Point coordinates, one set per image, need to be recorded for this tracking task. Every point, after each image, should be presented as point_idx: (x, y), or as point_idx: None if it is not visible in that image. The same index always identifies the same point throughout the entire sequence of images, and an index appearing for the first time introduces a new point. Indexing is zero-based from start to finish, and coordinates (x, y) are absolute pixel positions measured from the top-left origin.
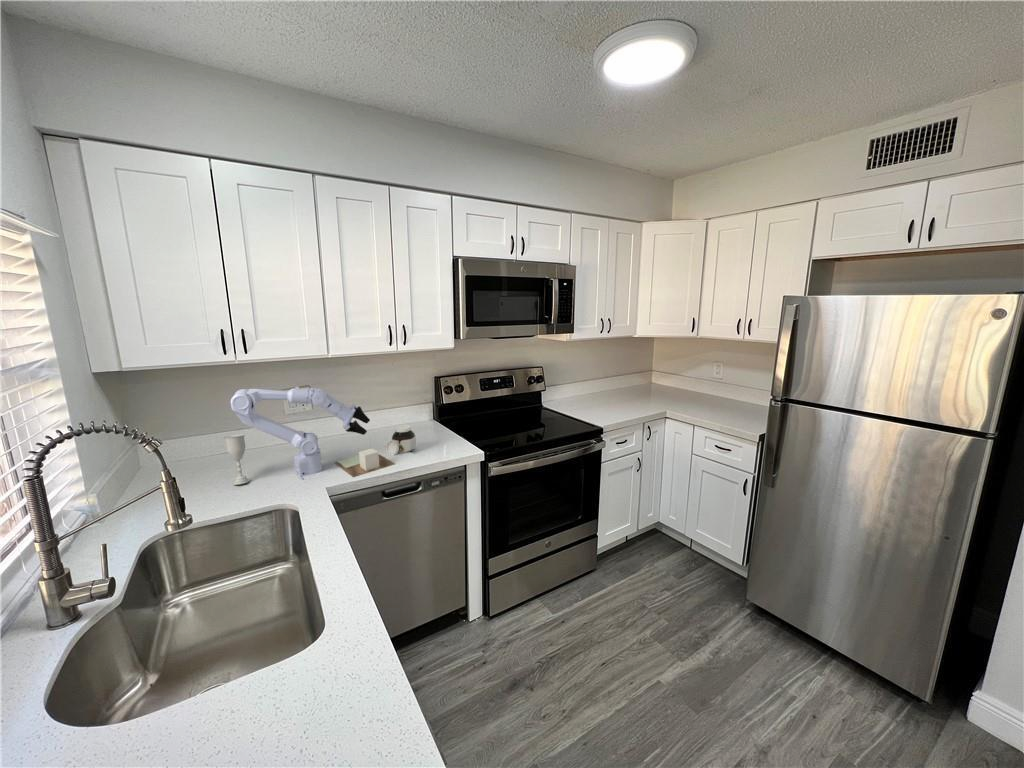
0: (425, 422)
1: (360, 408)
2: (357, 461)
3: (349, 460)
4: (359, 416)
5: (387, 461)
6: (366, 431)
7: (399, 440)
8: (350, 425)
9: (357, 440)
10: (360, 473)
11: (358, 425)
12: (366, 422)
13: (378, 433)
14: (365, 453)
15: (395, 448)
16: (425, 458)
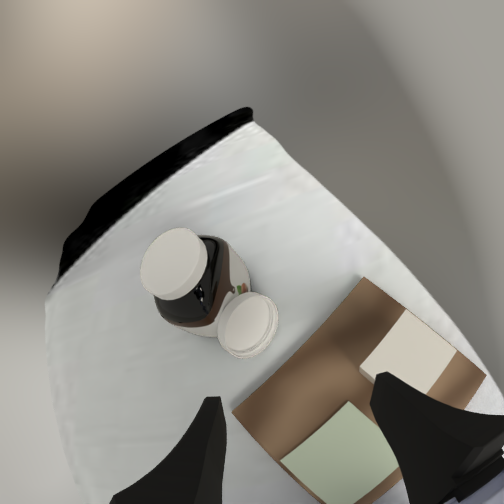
0: (53, 306)
1: (140, 499)
2: (349, 440)
3: (334, 476)
4: (215, 493)
5: (342, 318)
6: (386, 373)
7: (228, 285)
8: (499, 461)
9: (121, 477)
10: (458, 369)
11: (450, 416)
12: (225, 427)
13: (82, 418)
14: (433, 362)
15: (251, 310)
16: (289, 214)
